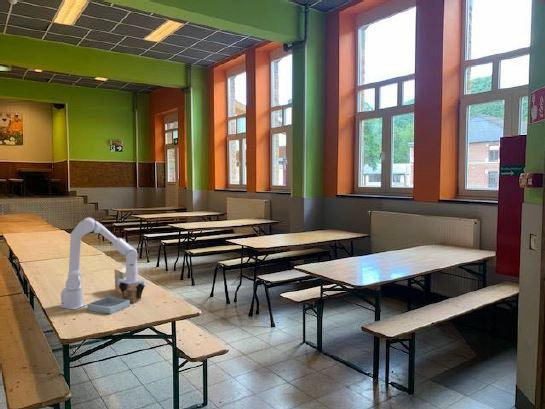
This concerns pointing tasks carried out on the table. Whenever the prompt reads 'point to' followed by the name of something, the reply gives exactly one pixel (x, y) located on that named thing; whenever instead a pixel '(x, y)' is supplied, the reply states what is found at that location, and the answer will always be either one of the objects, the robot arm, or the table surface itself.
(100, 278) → the table surface
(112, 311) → the tray
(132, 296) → the walnut block
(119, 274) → the stack of blocks
